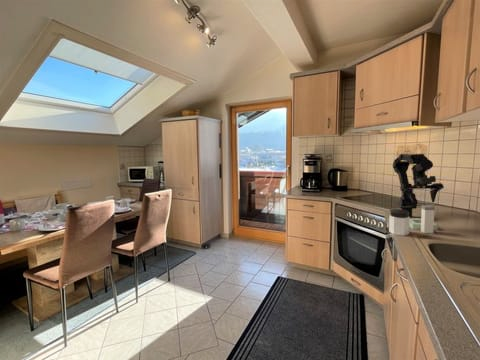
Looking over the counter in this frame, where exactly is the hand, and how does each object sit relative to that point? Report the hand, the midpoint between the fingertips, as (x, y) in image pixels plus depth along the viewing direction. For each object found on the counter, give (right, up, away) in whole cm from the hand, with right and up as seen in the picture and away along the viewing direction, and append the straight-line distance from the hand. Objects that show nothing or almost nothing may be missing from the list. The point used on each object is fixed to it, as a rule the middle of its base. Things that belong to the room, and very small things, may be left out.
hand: (423, 202), depth 131 cm
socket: (+2, -14, +5) cm, 15 cm away
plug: (-1, -15, -3) cm, 16 cm away
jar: (-15, -16, -2) cm, 22 cm away
